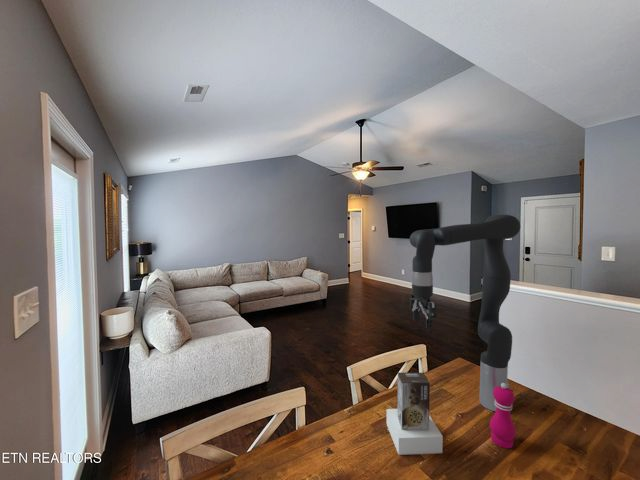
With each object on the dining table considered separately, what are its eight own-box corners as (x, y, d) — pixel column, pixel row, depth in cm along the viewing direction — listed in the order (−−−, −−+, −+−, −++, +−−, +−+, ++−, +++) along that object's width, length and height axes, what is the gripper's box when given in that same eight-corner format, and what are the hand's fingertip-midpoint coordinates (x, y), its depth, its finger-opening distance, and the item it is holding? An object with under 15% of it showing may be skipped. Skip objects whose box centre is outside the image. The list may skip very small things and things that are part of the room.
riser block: (424, 423, 106) (424, 407, 105) (442, 454, 92) (442, 436, 91) (386, 424, 105) (386, 409, 105) (398, 456, 91) (398, 438, 91)
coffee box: (423, 417, 100) (424, 372, 99) (429, 430, 94) (430, 382, 93) (396, 416, 101) (397, 371, 99) (401, 430, 94) (402, 382, 93)
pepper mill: (511, 436, 99) (513, 379, 97) (518, 452, 92) (520, 391, 90) (487, 431, 101) (489, 375, 100) (492, 446, 94) (494, 387, 93)
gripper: (442, 286, 104) (442, 330, 105) (420, 278, 118) (420, 317, 119) (424, 288, 102) (424, 332, 104) (403, 280, 116) (404, 319, 117)
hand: (422, 324), depth 111 cm, fingers open, 8 cm apart
